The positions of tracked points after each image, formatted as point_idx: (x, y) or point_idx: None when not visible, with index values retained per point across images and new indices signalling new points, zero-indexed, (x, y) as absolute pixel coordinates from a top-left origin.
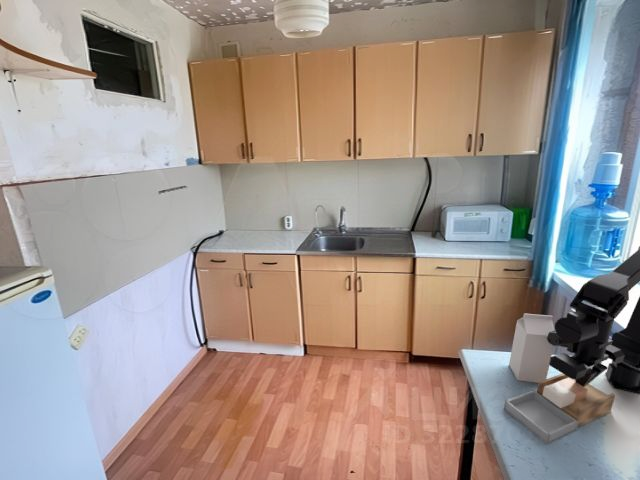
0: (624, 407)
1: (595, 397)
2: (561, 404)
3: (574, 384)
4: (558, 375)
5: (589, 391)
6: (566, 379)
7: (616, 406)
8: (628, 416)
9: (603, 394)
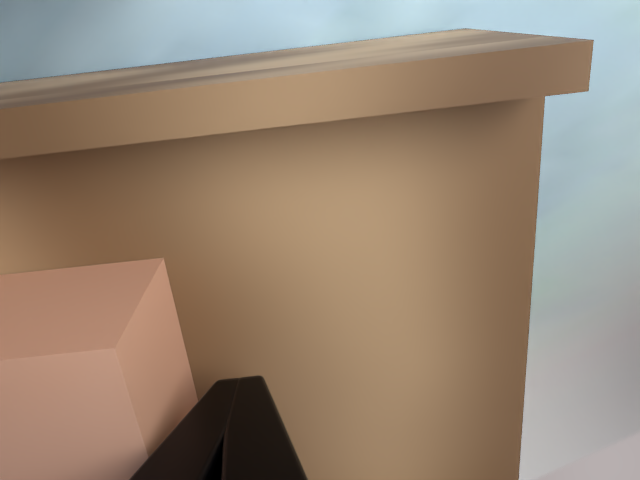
0: (636, 384)
1: (338, 474)
2: None
3: None
4: (123, 106)
5: (376, 397)
6: (15, 378)
7: (590, 363)
8: (547, 447)
9: (483, 460)
